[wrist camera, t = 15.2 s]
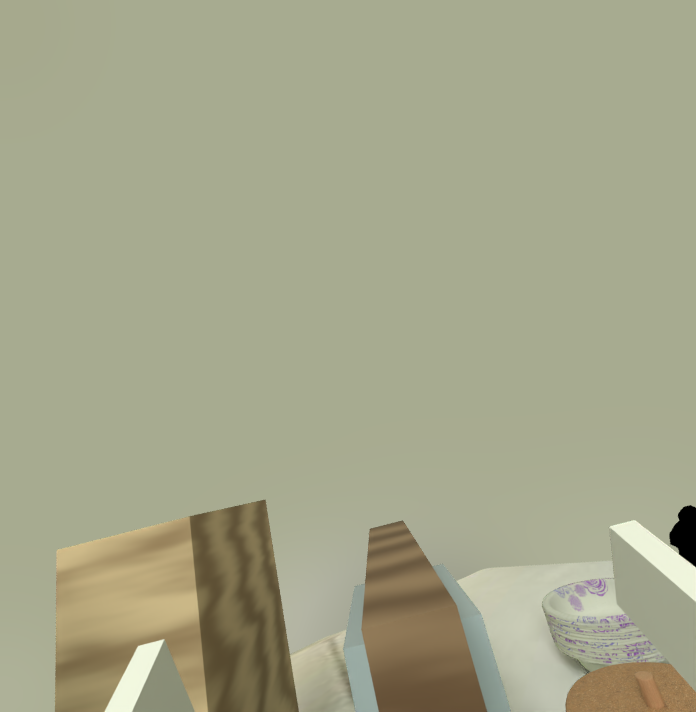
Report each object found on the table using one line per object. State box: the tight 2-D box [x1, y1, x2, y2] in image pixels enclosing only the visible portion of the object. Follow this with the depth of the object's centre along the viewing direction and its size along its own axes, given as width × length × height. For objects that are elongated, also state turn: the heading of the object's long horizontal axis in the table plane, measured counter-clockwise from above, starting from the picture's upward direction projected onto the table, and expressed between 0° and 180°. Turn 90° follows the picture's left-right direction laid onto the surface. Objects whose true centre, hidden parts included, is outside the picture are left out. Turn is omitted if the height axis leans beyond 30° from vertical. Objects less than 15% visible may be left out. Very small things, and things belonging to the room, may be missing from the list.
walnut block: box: [361, 521, 487, 712], centre depth 29 cm, size 30×4×4 cm, turn 176°
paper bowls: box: [542, 578, 670, 672], centre depth 49 cm, size 15×15×8 cm
